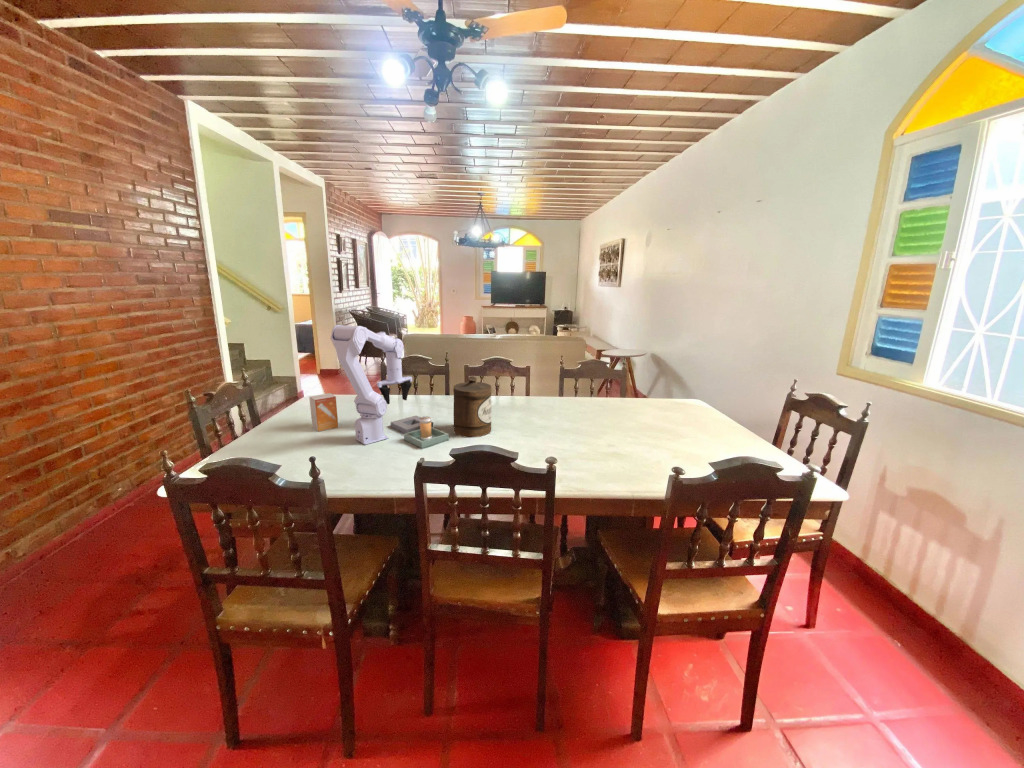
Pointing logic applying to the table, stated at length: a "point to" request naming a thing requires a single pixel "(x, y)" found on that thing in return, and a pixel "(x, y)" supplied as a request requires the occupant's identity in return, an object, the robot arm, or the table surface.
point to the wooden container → (472, 408)
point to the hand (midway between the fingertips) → (396, 401)
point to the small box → (323, 412)
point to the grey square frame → (407, 424)
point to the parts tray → (436, 439)
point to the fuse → (425, 428)
